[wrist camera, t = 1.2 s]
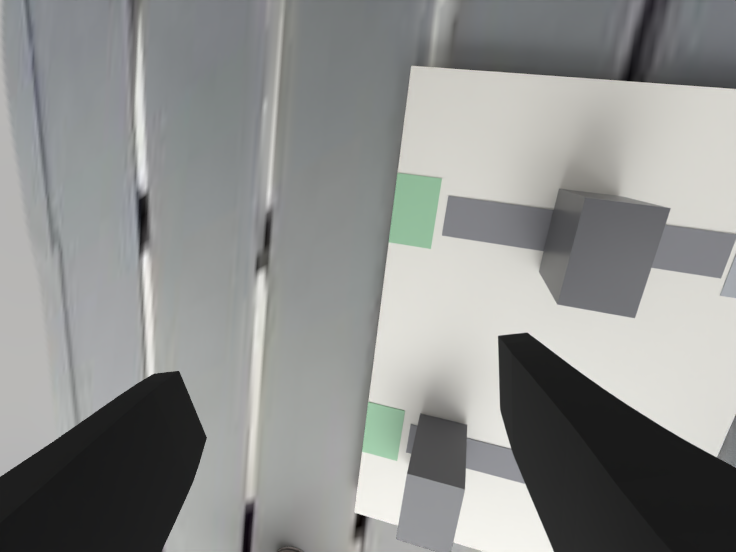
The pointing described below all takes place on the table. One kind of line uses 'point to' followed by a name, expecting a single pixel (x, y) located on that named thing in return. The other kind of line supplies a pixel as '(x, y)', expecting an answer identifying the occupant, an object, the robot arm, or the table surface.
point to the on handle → (434, 484)
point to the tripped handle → (601, 251)
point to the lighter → (289, 549)
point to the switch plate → (526, 286)
